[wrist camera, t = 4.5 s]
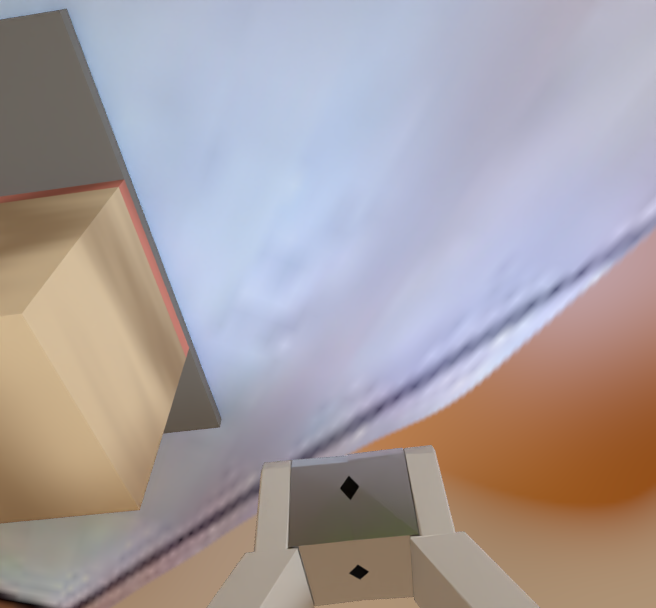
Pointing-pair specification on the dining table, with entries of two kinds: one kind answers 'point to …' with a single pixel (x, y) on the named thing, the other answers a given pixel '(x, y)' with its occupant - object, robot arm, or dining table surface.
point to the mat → (74, 154)
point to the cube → (81, 353)
